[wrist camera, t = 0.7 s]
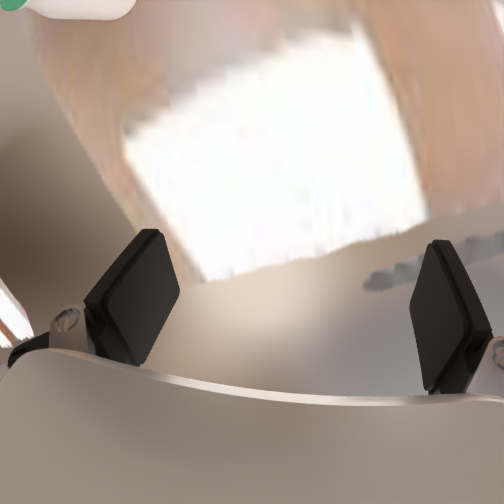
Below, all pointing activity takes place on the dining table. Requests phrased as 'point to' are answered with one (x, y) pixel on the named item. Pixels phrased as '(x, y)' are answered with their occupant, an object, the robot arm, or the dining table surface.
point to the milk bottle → (73, 8)
